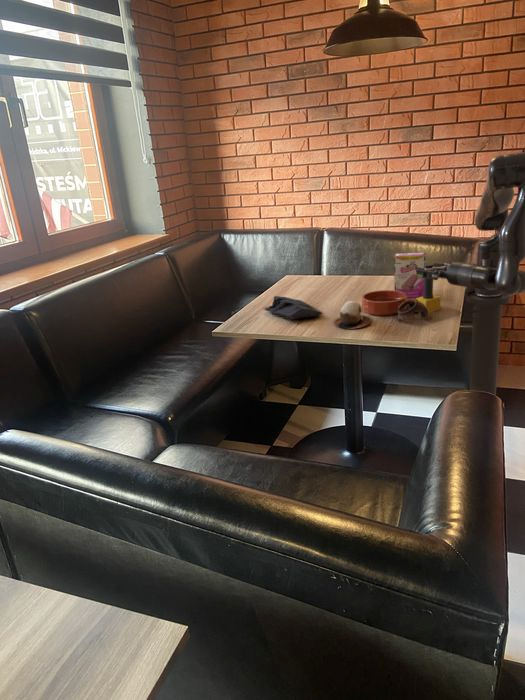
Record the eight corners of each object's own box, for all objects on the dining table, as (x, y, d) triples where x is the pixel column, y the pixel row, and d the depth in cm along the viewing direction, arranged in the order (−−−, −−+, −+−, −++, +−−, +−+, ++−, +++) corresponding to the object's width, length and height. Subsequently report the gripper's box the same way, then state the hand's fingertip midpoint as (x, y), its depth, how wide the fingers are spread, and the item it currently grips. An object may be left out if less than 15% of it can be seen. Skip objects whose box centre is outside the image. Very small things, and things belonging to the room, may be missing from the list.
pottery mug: (432, 325, 172) (420, 306, 168) (405, 337, 176) (393, 318, 173) (431, 306, 181) (419, 287, 178) (405, 317, 186) (393, 299, 182)
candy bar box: (394, 299, 202) (393, 256, 197) (395, 295, 207) (394, 253, 201) (425, 298, 199) (425, 254, 193) (425, 294, 204) (425, 251, 198)
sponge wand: (429, 306, 190) (430, 261, 184) (440, 309, 186) (441, 263, 180) (415, 310, 187) (415, 265, 181) (426, 313, 183) (427, 267, 177)
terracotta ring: (379, 301, 202) (378, 288, 200) (415, 307, 190) (415, 293, 189) (353, 311, 192) (352, 298, 190) (390, 318, 181) (390, 304, 179)
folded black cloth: (286, 324, 185) (285, 311, 183) (263, 310, 205) (261, 298, 203) (325, 315, 190) (324, 302, 188) (299, 302, 209) (298, 290, 208)
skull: (341, 312, 188) (358, 292, 182) (362, 333, 186) (380, 314, 180) (325, 322, 179) (343, 301, 173) (347, 344, 177) (366, 324, 171)
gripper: (480, 258, 171) (439, 253, 184) (451, 267, 164) (410, 261, 177) (479, 281, 174) (439, 274, 187) (450, 291, 167) (410, 283, 180)
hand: (425, 268), depth 182 cm, fingers open, 8 cm apart
